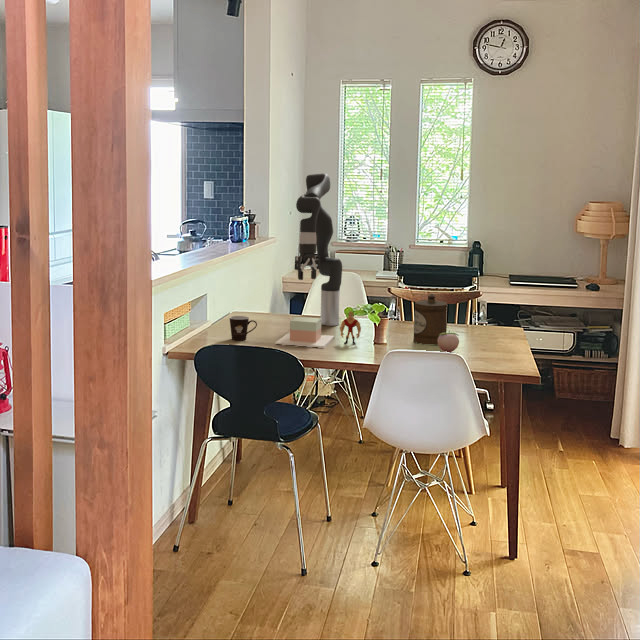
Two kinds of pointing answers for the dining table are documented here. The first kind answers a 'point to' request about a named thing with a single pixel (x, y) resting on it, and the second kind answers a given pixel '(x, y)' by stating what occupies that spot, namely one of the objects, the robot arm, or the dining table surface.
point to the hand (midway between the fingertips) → (307, 279)
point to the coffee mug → (240, 327)
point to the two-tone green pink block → (305, 333)
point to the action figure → (350, 327)
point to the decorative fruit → (448, 341)
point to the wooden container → (429, 320)
